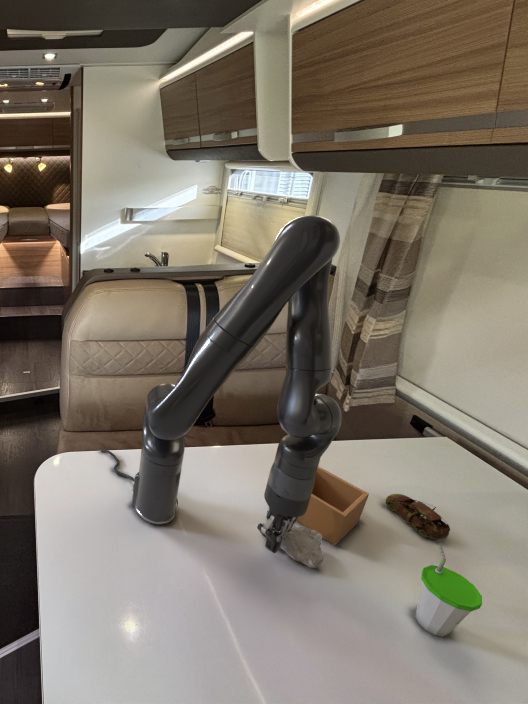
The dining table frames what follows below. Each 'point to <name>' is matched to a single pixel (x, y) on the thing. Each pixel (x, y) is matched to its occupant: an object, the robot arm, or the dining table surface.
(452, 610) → the cup
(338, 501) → the box
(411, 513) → the toy car
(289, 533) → the stone
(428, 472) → the dining table surface
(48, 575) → the dining table surface
